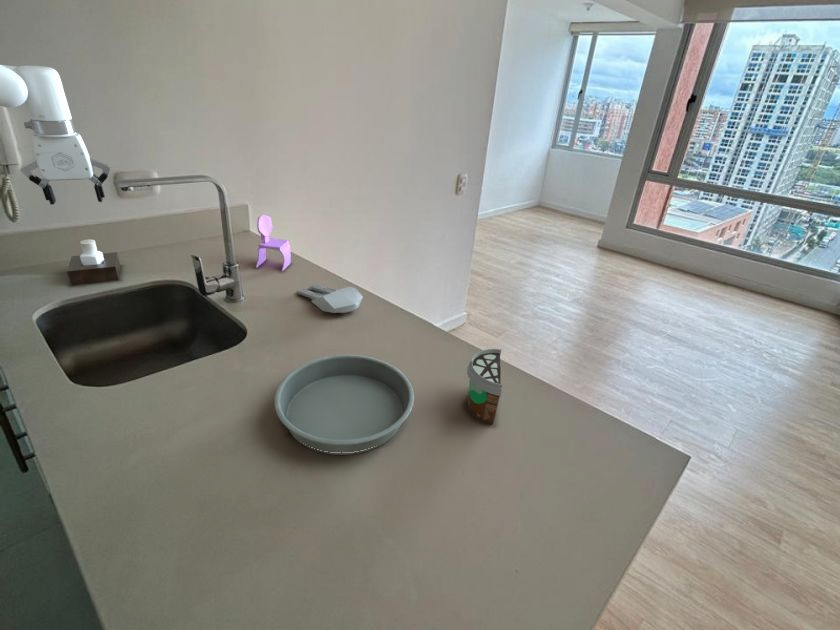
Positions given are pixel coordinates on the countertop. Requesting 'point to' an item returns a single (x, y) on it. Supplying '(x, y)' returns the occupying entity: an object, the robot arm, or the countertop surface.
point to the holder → (94, 270)
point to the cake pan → (344, 403)
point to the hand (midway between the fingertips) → (77, 201)
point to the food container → (484, 384)
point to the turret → (334, 298)
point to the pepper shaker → (90, 253)
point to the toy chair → (271, 242)
